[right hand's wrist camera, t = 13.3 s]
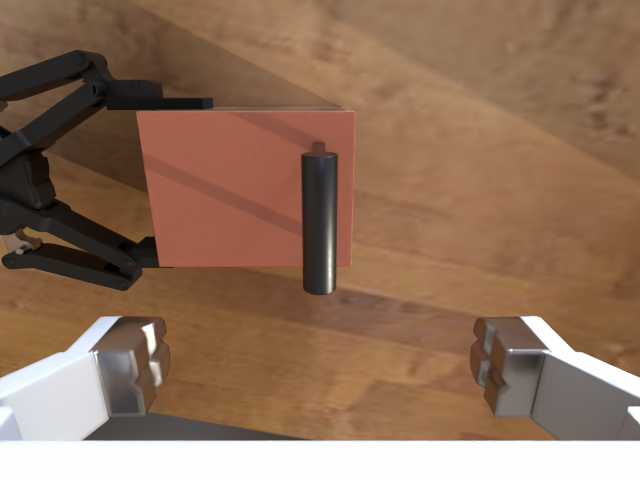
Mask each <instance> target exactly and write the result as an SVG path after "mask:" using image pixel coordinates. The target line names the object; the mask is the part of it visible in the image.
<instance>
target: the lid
mask: <svg viewBox="0 0 640 480" xmlns="http://www.w3.org/2000/svg"><path fill="white" fill-rule="evenodd" d="M136 116H137V123H138V129H139V136H140V142H141V149H142V155H143V162H144V168H145V175H146V181H147V188H148V194H149V201H150V207H151V214H152V220H153V227H154V233H155V240H156V246H157V253H158V260H159V266H160V267H303V288H304V290H305V291H306V292H307V293H310V294H313V295H326V294H330V293H332V292H333V291H335V289H336V266H351V255H352V222H353V188H354V154H355V120H356V112H355V111H137V112H136Z"/></svg>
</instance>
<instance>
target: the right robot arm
mask: <svg viewBox="0 0 640 480" xmlns="http://www.w3.org/2000/svg"><path fill="white" fill-rule="evenodd" d="M166 332H167V331H166V326H165V321H164V320H163V319H162V318H161V317H129V316H124V317H122V316H105V317H100V318H99V319H98V320H97V321H96V322H95V323H94V324H93V325H92V326H91V327H90V328H89V329H88V330H87V331H86V332H85V333H84V334H83V335H82V336H81V337H80V338H79V339H78V340H77V341H76V342H75V343H74V344H73V345H72V346H71V347H70V348H69V349H68V350H67V351H66V352H58V353H56V354H53V355H51V356H49V357H47V358H44V359H42V360H40V361H38V362H35V363H33V364H31V365H29V366H26V367H24V368H22V369H19V370H17V371H15V372H13V373H10V374H8V375H6V376H4V377H1V378H0V480H640V378H638V377H636V376H634V375H632V374H629V373H627V372H625V371H623V370H620V369H618V368H616V367H614V366H611V365H609V364H607V363H605V362H602V361H600V360H598V359H596V358H593V357H591V356H589V355H587V354H584V353H582V352H574V351H573V350H572V349H571V348H570V347H569V346H568V345H567V344H566V343H565V342H564V341H563V340H562V339H561V338H560V337H559V336H558V335H557V334H556V333H555V332H554V331H553V330H552V329H551V328H550V327H549V326H548V325H547V324H546V323H545V322H544V321H543V320H542V319H541V318H540V317H537V316H522V317H483V318H477V320H476V322H475V325H474V331H473V332H474V334H475V335H476V337H477V339H478V340H477V341H476V342H475V343H474V344H473V345H472V346H471V351H470V366H471V371H472V374H473V377H474V379H475V381H476V383H477V384H478V385H480V386H481V387H483V388H485V392H484V398H485V399H486V401H487V403H488V405H489V407H490V408H491V410H492V412H493V414H494V416H496V417H531V419H532V420H533V421H534V422H535V423H537V424H538V425H539V426H540V427H542V428H543V429H544V430H546V431H547V432H548V433H549V434H551V435H552V436H553V437H555V438H556V439H557V440H558V441H82V440H83V439H84V438H86V437H87V436H88V435H89V434H91V433H92V432H93V431H95V430H96V429H97V428H98V427H100V426H101V425H102V424H103V423H105V422H106V421H107V420H108V419H109V417H142V416H146V414H147V412H148V410H149V408H150V407H151V405H152V403H153V401H154V399H155V398H156V392H155V388H157V387H159V386H160V385H162V384H163V383H164V381H165V379H166V377H167V375H168V370H169V366H170V350H169V346H168V345H167V344H166V343H165V342H164V341H163V340H162V339H163V337H164V335H165V334H166Z"/></svg>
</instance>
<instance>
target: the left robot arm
mask: <svg viewBox="0 0 640 480" xmlns="http://www.w3.org/2000/svg"><path fill="white" fill-rule="evenodd" d="M83 78H84V80H83V82H86V83H85V84H84V85H82V86H81V87H80V88H78V89H77V90H76V91H74V92H73V93H71V94H70V95H69V96H67V97H66V98H64V99H63V100H62V101H60V102H59V103H57V104H56V105H55V106H53V107H52V108H50V109H49V110H48V111H46V112H45V113H43V114H42V115H41V116H39V117H38V118H37V119H35V120H34V121H32V122H31V123H30V124H28V125H27V126H25V127H24V128H23V129H21V130H18V131H16V132H13V133H12V132H10V131H9V130H7V129H5V128H4V127H2V126H1V125H0V235H3V238H4V241H5V243H6V246H7V249H8V252H9V254H7V255H5V256H3V257H2V263H3V265H4V266H5V267H6V268H8V269H24V268H35V269H39V270H43V271H47V272H51V273H54V274H58V275H62V276H66V277H70V278H74V279H78V280H82V281H86V282H90V283H94V284H98V285H101V286H105V287H109V288H113V289H117V290H121V291H125V290H127V289H129V288H130V287H131V286H132V285H133V284H134V283H135V282H136V281H137V280H138V279H139V278H140V276H141V275H142V268H173V267H160V266H159V260H158V253H157V246H156V240H155V237H145V238H144V239H143V240H141V241H140V242H139V243H138V244H137V243H135V242H133V241H131V240H130V239H128V238H126V237H124V236H122V235H120V234H118V233H116V232H114V231H112V230H110V229H108V228H106V227H104V226H102V225H100V224H98V223H96V222H94V221H92V220H90V219H88V218H86V217H84V216H82V215H80V214H78V213H76V212H74V211H72V210H71V208H70V206H69V205H67V204H65V203H63V202H61V201H59V200H57V199H55V198H54V197H56V193H55V189H54V186H53V184H52V182H51V180H50V178H49V163H48V159H47V157H43V155H42V154H41V153H42V152H43V151H45V150H46V149H48V148H49V147H50V146H52V145H53V144H55V143H56V140H57V139H59V138H60V137H62V136H63V135H65V134H66V133H67V132H69V131H70V130H72V129H73V128H75V127H76V126H78V125H79V124H80V123H82V122H83V121H85V120H86V119H88V118H89V117H90V116H92V115H93V114H95V113H96V112H98V111H99V110H100V109H102V108H103V107H105V106H106V105H107V110H203V109H211V108H213V99H212V98H163V92H162V84H161V83H159V82H156V81H152V80H116V79H115V78H113V77H112V76H111V74H110V73H109V71H108V69H107V60H106V59H105V57H104V56H102V55H101V54H97V53H92V52H87V51H81V50H75V51H72V52H69V53H66V54H63V55H61V56H58V57H55V58H52V59H49V60H46V61H44V62H41V63H38V64H35V65H32V66H29V67H27V68H24V69H21V70H18V71H15V72H13V73H10V74H7V75H4V76H1V77H0V113H1V112H3V111H4V109H5V108H7V106H8V103H7V102H6V101H17V100H21V99H25V98H28V97H31V96H34V95H37V94H39V93H42V92H45V91H48V90H51V89H54V88H57V87H60V86H63V85H66V84H68V83H71V82H74V81H77V80H80V79H83ZM26 227H29V228H31V229H33V230H36V231H39V232H48V233H50V234H52V235H54V236H57V237H59V238H61V239H63V240H65V241H67V242H69V243H71V244H73V245H75V246H77V247H79V248H81V249H83V250H85V251H87V252H84V251H80V250H76V249H73V248H69V247H65V246H61V245H57V244H51V243H43V241H42V239H41V238H33V237H29V236H27V235H26V234H25V233H24V232H23V229H24V228H26ZM88 252H89V253H88Z"/></svg>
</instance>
